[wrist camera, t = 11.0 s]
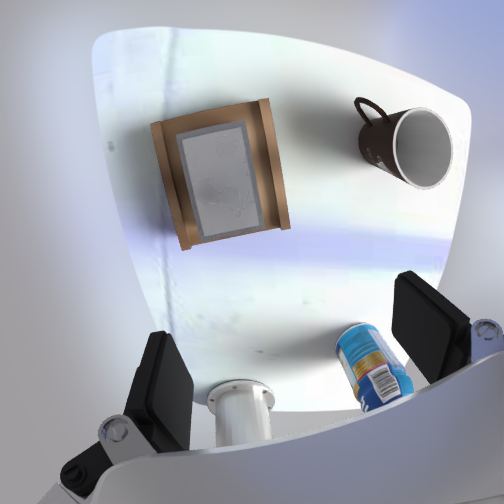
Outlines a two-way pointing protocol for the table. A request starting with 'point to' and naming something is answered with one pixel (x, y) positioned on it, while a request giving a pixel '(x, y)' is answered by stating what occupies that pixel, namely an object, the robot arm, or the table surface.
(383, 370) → the beverage bottle
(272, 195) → the stand
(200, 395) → the table surface
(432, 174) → the coffee mug
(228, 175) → the block
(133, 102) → the table surface
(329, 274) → the table surface
